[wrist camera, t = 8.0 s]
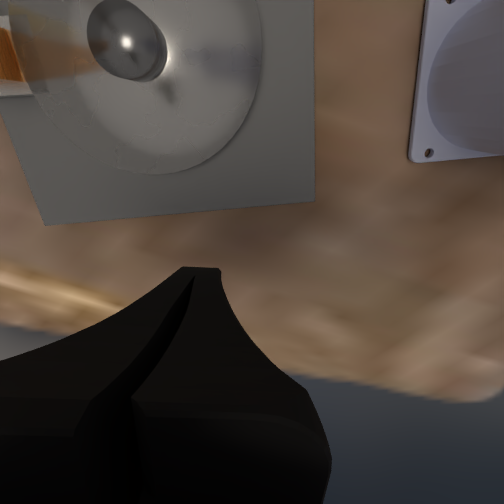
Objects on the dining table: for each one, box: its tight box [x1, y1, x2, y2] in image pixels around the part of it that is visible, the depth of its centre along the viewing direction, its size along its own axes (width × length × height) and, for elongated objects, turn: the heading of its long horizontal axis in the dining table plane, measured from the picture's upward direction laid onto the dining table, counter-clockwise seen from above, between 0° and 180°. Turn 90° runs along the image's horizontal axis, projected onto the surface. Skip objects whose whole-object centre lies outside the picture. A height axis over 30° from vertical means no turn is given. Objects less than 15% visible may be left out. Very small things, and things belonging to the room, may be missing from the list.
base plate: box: [0, 0, 315, 226], centre depth 14 cm, size 16×16×3 cm
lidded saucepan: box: [0, 0, 262, 174], centre depth 12 cm, size 14×11×5 cm
